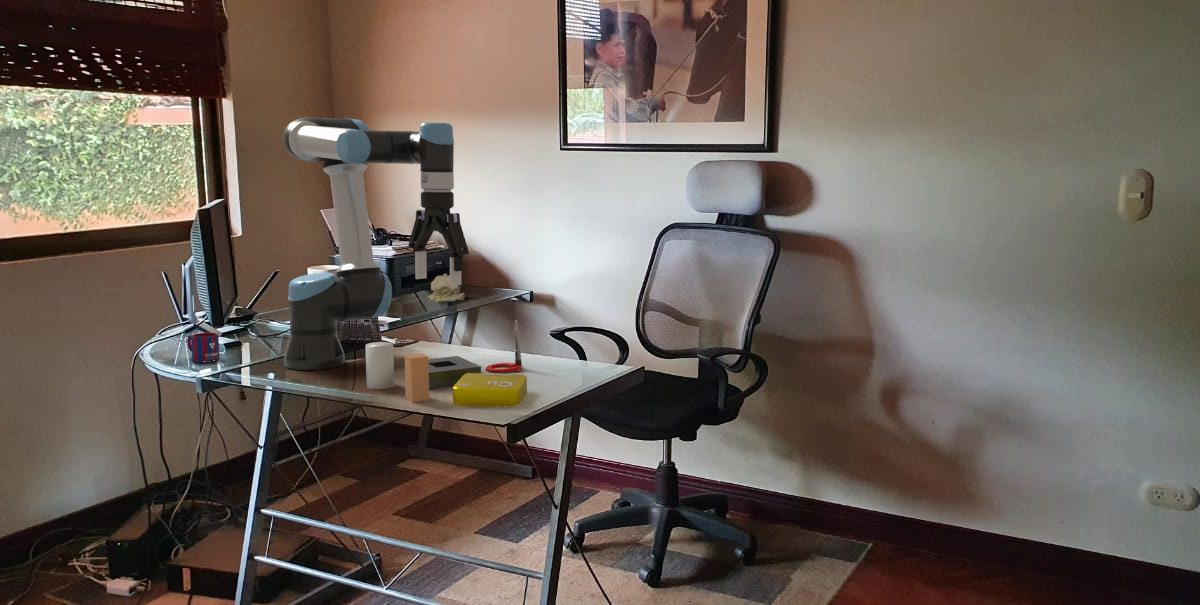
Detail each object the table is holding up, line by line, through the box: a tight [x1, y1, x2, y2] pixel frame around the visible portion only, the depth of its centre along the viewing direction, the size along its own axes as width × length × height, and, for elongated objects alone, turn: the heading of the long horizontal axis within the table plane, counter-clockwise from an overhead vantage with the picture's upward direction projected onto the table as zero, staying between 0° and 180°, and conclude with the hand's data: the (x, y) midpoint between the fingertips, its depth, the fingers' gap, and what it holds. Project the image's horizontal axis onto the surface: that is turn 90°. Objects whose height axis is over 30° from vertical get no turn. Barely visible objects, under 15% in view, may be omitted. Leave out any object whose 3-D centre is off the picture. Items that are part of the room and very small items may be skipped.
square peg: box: [404, 353, 430, 403], centre depth 207 cm, size 4×4×10 cm
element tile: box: [452, 372, 528, 408], centre depth 210 cm, size 15×15×5 cm
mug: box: [186, 331, 221, 363], centre depth 246 cm, size 7×10×7 cm
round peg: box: [365, 341, 395, 390], centre depth 219 cm, size 6×6×10 cm
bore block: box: [428, 355, 482, 390], centre depth 226 cm, size 14×14×4 cm
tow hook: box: [485, 319, 523, 374], centre depth 237 cm, size 8×13×9 cm
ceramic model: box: [427, 273, 465, 302], centre depth 354 cm, size 14×11×10 cm
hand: (438, 281), depth 217 cm, fingers open, 13 cm apart
